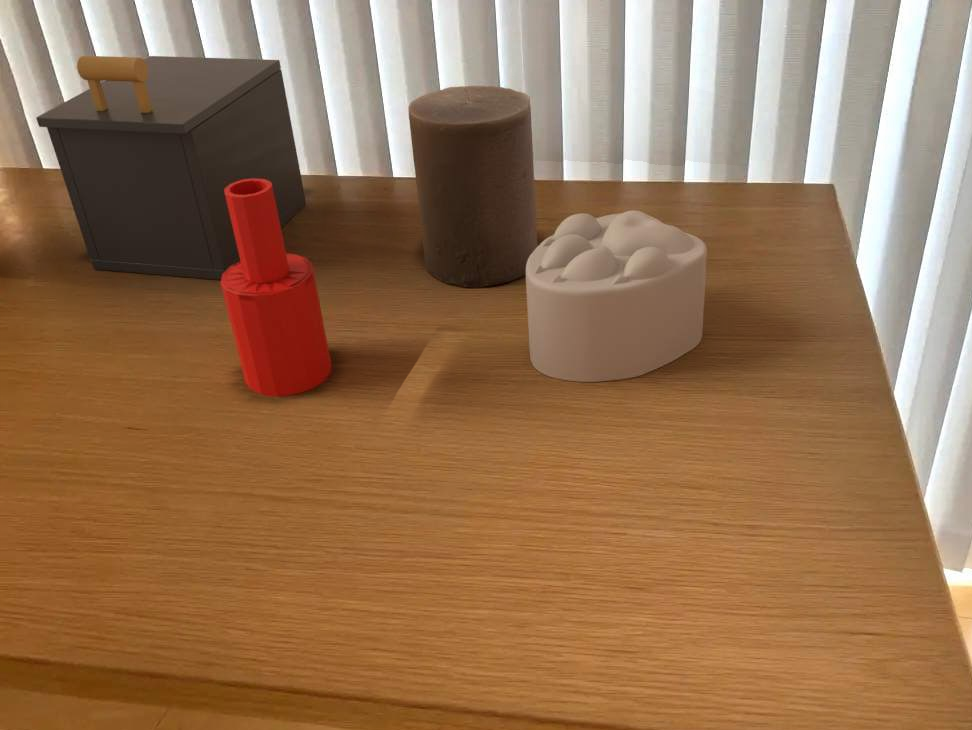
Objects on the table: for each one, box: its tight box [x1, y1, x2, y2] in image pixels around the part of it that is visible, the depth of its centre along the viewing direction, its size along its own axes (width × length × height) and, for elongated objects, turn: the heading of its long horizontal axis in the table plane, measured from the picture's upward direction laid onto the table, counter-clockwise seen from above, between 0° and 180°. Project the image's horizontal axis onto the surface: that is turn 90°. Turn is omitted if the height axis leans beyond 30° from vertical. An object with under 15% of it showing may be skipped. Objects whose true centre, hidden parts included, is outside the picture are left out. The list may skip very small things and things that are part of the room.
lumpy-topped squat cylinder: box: [525, 210, 708, 383], centre depth 72 cm, size 10×13×9 cm
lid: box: [35, 55, 282, 134], centre depth 84 cm, size 17×13×5 cm
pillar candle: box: [408, 85, 539, 288], centre depth 82 cm, size 10×10×15 cm
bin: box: [46, 69, 307, 281], centre depth 89 cm, size 16×13×13 cm
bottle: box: [220, 178, 332, 397], centre depth 67 cm, size 6×6×15 cm
